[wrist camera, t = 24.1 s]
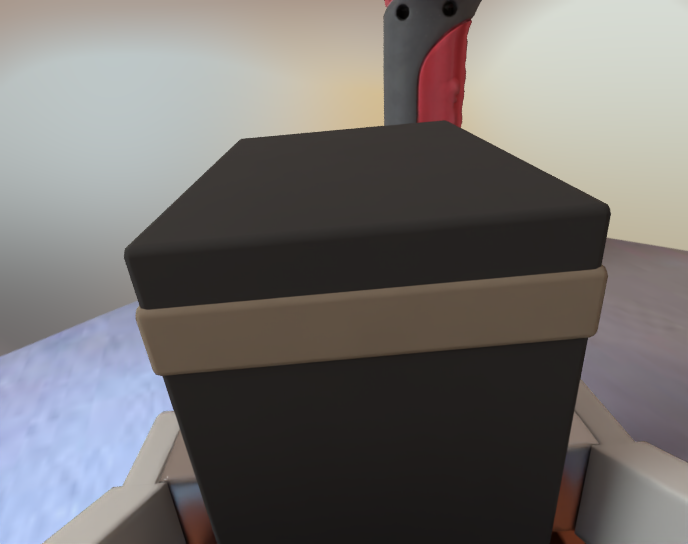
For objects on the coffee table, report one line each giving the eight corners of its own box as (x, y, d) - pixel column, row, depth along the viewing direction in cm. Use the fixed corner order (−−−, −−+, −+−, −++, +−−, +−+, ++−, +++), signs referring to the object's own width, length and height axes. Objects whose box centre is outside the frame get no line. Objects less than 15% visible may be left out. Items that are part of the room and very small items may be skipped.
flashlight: (534, 276, 28) (589, -224, 19) (430, 308, 25) (434, -262, 16) (455, 241, 34) (467, -142, 25) (365, 263, 32) (342, -158, 22)
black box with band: (443, 460, 14) (450, 118, 9) (522, 729, 8) (626, 205, 4) (297, 472, 14) (236, 138, 9) (278, 750, 8) (108, 252, 4)
